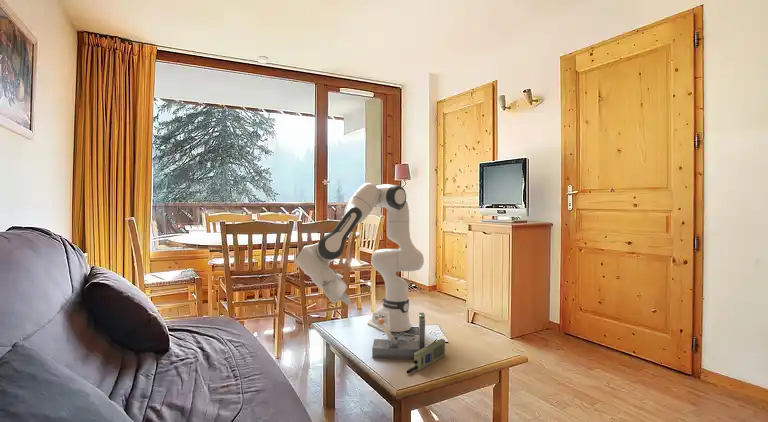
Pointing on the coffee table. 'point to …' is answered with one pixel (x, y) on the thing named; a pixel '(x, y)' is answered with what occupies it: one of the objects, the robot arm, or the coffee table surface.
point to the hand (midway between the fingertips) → (349, 303)
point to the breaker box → (400, 345)
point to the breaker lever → (386, 329)
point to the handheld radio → (428, 355)
